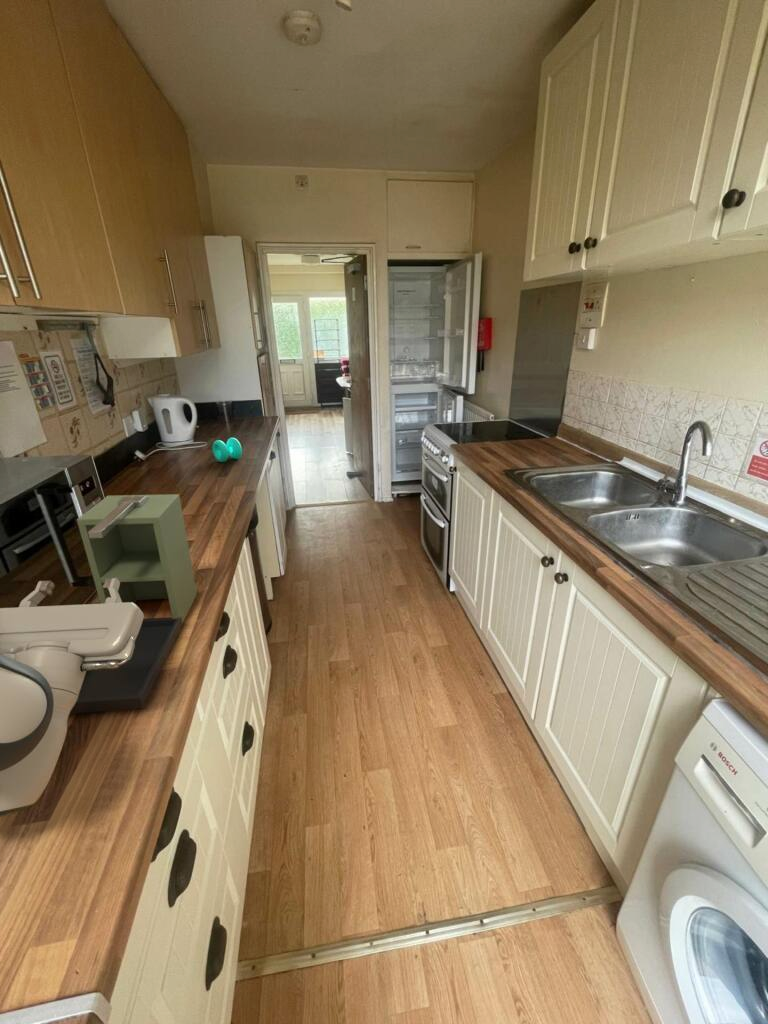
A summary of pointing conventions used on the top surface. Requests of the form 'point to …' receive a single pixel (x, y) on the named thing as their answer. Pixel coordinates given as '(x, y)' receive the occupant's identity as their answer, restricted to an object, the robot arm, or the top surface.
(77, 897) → the top surface
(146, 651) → the tray
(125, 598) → the shelf
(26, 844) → the top surface
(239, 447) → the turquoise spool
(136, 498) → the fork
